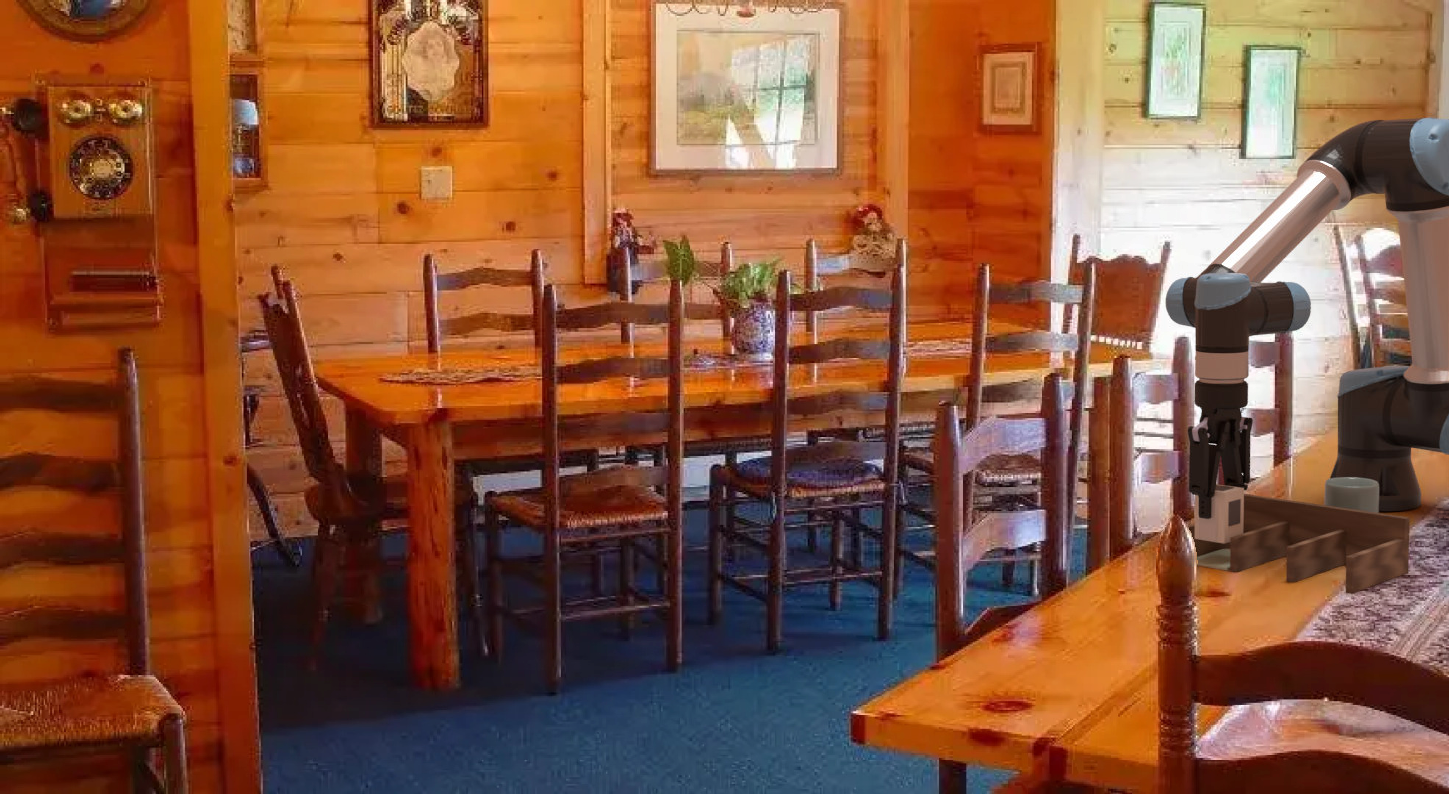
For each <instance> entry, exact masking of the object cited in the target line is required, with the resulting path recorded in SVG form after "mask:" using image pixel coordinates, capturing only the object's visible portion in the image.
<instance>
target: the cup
mask: <svg viewBox="0 0 1449 794" xmlns="http://www.w3.org/2000/svg"><path fill="white" fill-rule="evenodd" d="M1323 499H1324V502H1323V505H1326V506H1333V507H1340V508H1347V509H1354V510H1361V511H1368V512H1375V513H1380V511H1379V483H1378V482H1377V481H1375V480H1372V479H1367V478H1355V477H1339V478H1330V477H1329V478H1328V479H1326V480H1325V481H1324V498H1323Z"/></svg>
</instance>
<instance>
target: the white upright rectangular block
mask: <svg viewBox="0 0 1449 794" xmlns="http://www.w3.org/2000/svg"><path fill="white" fill-rule="evenodd" d="M1244 494H1245V490H1244V488H1241V487H1233V486H1226V485H1225V484H1217V483H1216V489H1215V494H1214V496H1217V497H1218V541H1211V542H1217V543H1223V544H1225V543H1228V542H1230V539H1231V537H1233V536H1237V535H1240V534H1243V521H1244ZM1194 524H1195V539H1199V497H1198V495H1194ZM1200 540H1204V539H1200ZM1205 541H1210V540H1205Z"/></svg>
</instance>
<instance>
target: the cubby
mask: <svg viewBox="0 0 1449 794" xmlns="http://www.w3.org/2000/svg"><path fill="white" fill-rule="evenodd" d="M1410 520H1411V519H1410V517H1409V516H1408V517H1407V516H1402V515H1394V514H1389V513H1381V512H1379V513H1375V512H1368V511H1361V510H1354V509H1347V508H1340V507H1333V506H1326V505H1324V504H1317V503H1313V502H1312V503H1311V502H1304V501H1298V500H1297V501H1296V500H1290V499H1282V498H1276V497H1270V496H1263V495H1255V494H1248V493H1244V521H1243V534H1240V535H1237V536H1233V537H1231V539H1230V542H1228V543H1225V544H1223V543H1217V542H1211V541H1205V540H1200V539H1195V523H1192V524H1189V525H1187V526H1188V527H1189V530H1190V531H1191V533H1192V537H1193V539H1194V542H1195V547H1196V552H1197V557H1198V556H1201V555H1205V554H1208V553H1211V552H1214V551H1218V550H1221V549H1228V550H1230V570H1229V572H1232V571H1233V573H1238V572H1237V571H1239V572H1241V571H1245V570H1247V568H1248V569H1250V568H1253V566H1254V567H1256V566H1260V565H1262V564H1261V563H1263V564H1266V563H1269V562H1272V561H1274V560H1278V559H1281V558H1284V557H1286V569H1285V571H1286V572H1285V574H1286V575H1285V577H1286V580H1285V581H1286V582H1288V583H1295V582H1298V581H1301V580H1304V579H1307V578H1310V577H1313V576H1316V575H1318V574H1320V573H1321V574H1322V573H1324V572H1327V571H1329V570H1333V569H1336V568H1338V567H1341V566H1344V565H1345V593H1349V594H1354V593H1357V592H1360V591H1363V590H1366V589H1367V588H1370V587H1373V586H1376V585H1378V584H1381V583H1384V582H1387V581H1389V580H1393V579H1395V578H1397V577H1401V576H1402V575H1405V574H1408V573H1409V566H1410V565H1409V563H1410V562H1409V560H1410V559H1409V558H1410V557H1409V556H1410V555H1409V554H1410V553H1409V552H1410V525H1411V524H1410V523H1411V521H1410ZM1271 560H1272V561H1271ZM1265 562H1266V563H1265ZM1259 564H1260V565H1259ZM1332 568H1333V569H1332ZM1244 569H1245V570H1244Z"/></svg>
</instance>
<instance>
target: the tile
mask: <svg viewBox="0 0 1449 794" xmlns="http://www.w3.org/2000/svg"><path fill="white" fill-rule="evenodd" d="M1197 560H1198V565H1197V566H1198V567H1199V566H1200V567H1206V568H1211V569H1215V570H1222V571H1230V549H1229V548H1228V549H1221V550H1218V551H1214V552H1211V553H1208V554H1205V555H1201V556H1198V557H1197Z"/></svg>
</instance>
